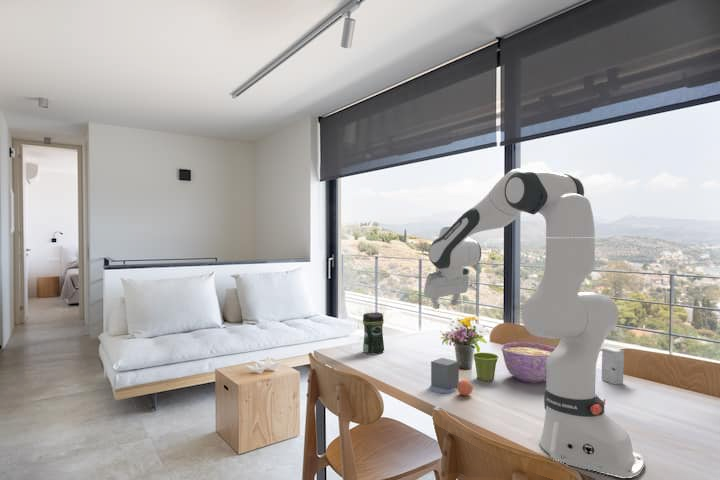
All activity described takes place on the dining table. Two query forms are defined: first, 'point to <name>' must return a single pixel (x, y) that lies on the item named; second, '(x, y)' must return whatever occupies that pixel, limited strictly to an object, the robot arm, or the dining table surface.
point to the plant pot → (485, 365)
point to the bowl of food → (526, 360)
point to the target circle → (441, 389)
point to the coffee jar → (373, 333)
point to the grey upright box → (444, 373)
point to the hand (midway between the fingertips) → (445, 306)
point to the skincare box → (612, 365)
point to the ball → (464, 387)
